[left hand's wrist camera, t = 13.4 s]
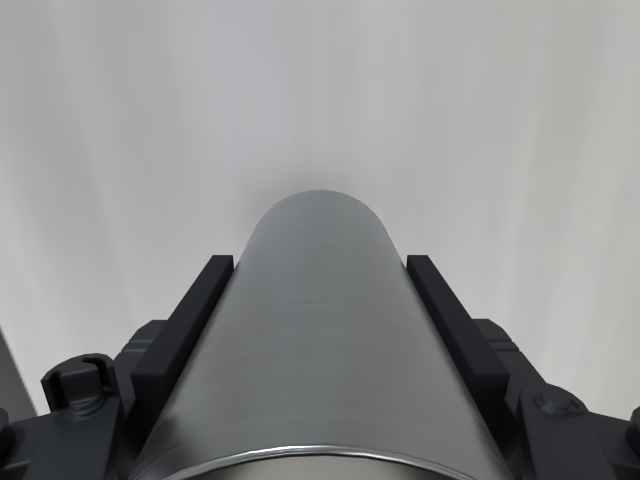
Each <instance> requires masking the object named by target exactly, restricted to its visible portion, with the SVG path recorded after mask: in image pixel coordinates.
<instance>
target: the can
mask: <svg viewBox="0 0 640 480" xmlns="http://www.w3.org/2000/svg"><path fill="white" fill-rule="evenodd" d="M127 480H514V478H513V476H512V474H511V472H510V470H509V468H508V466H507V464H506V462H505V460H504V458H503V456H502V454H501V452H500V450H499V449H498V447H497V445H496V443H495V441H494V439H493V437H492V435H491V433H490V431H489V429H488V427H487V425H486V423H485V421H484V419H483V417H482V416H481V414H480V412H479V410H478V408H477V406H476V404H475V402H474V400H473V398H472V396H471V394H470V392H469V390H468V388H467V386H466V384H465V382H464V381H463V379H462V377H461V375H460V373H459V371H458V369H457V367H456V365H455V363H454V361H453V359H452V357H451V355H450V353H449V351H448V349H447V348H446V346H445V344H444V342H443V340H442V338H441V336H440V334H439V332H438V330H437V328H436V326H435V324H434V322H433V320H432V318H431V316H430V315H429V313H428V311H427V309H426V307H425V305H424V303H423V301H422V299H421V297H420V295H419V293H418V291H417V289H416V287H415V285H414V283H413V282H412V280H411V278H410V276H409V274H408V272H407V270H406V268H405V266H404V264H403V262H402V260H401V258H400V256H399V254H398V252H397V250H396V249H395V247H394V245H393V243H392V241H391V239H390V237H389V235H388V233H387V231H386V229H385V227H384V226H383V224H382V222H381V221H380V219H379V218H378V217H377V216H376V214H375V213H374V212H373V211H372V210H371V209H370V208H369V207H367V206H366V205H365V204H363V203H362V202H360V201H359V200H357V199H355V198H353V197H351V196H349V195H346V194H343V193H339V192H335V191H328V190H311V191H306V192H301V193H298V194H294V195H292V196H290V197H287V198H285V199H283V200H282V201H280V202H279V203H277V204H275V205H274V206H273V207H272V208H271V209H270V210H268V211H267V213H266V214H265V215H264V216H263V217H262V218H261V220H260V221H259V223H258V224H257V226H256V228H255V230H254V232H253V234H252V236H251V238H250V240H249V242H248V244H247V246H246V248H245V250H244V252H243V254H242V256H241V257H240V259H239V261H238V263H237V265H236V267H235V269H234V271H233V273H232V275H231V277H230V279H229V281H228V283H227V285H226V287H225V289H224V291H223V293H222V295H221V297H220V299H219V301H218V302H217V304H216V306H215V308H214V310H213V312H212V314H211V316H210V318H209V320H208V322H207V324H206V326H205V328H204V330H203V332H202V334H201V336H200V338H199V340H198V342H197V344H196V346H195V347H194V349H193V351H192V353H191V355H190V357H189V359H188V361H187V363H186V365H185V367H184V369H183V371H182V373H181V375H180V377H179V379H178V381H177V383H176V385H175V387H174V389H173V391H172V392H171V394H170V396H169V398H168V400H167V402H166V404H165V406H164V408H163V410H162V412H161V414H160V416H159V418H158V420H157V422H156V424H155V426H154V428H153V430H152V432H151V434H150V436H149V437H148V439H147V441H146V443H145V445H144V447H143V449H142V451H141V453H140V455H139V457H138V459H137V461H136V463H135V465H134V467H133V469H132V471H131V473H130V475H129V477H128V479H127Z"/></svg>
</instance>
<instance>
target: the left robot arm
mask: <svg viewBox="0 0 640 480" xmlns="http://www.w3.org/2000/svg"><path fill="white" fill-rule="evenodd" d="M406 270H407V272H408V274H409V276H410V278H411V280H412V282H413V283H414V285H415V287H416V289H417V291H418V293H419V295H420V297H421V299H422V301H423V303H424V305H425V307H426V309H427V311H428V313H429V315H430V316H431V318H432V320H433V322H434V324H435V326H436V328H437V330H438V332H439V334H440V336H441V338H442V340H443V342H444V344H445V346H446V348H447V349H448V351H449V353H450V355H451V357H452V359H453V361H454V363H455V365H456V367H457V369H458V371H459V373H460V375H461V377H462V379H463V381H464V382H465V384H466V386H467V388H468V390H469V392H470V394H471V396H472V398H473V400H474V402H475V404H476V406H477V408H478V410H479V412H480V414H481V416H482V417H483V419H484V421H485V423H486V425H487V427H488V429H489V431H490V433H491V435H492V437H493V439H494V441H495V443H496V445H497V447H498V449H499V450H500V452H501V454H502V456H503V458H504V460H505V462H506V464H507V466H508V468H509V470H510V472H511V474H512V476H513V478H514V480H640V406H639V407H638V408H636V409H635V410H634V411H633V413H632V416H631V418H630V421H626V420H622V419H618V418H613V417H609V416H605V415H600V414H596V413H593V412H589V411H588V409H587V408H586V406H585V405H584V403H583V402H582V401H581V400H579V399H578V398H577V397H576V396H574V395H573V394H572V393H570V392H568V391H566V390H564V389H562V388H560V387H557V386H554V385H551V384H548V383H546V382H545V381H544V379H543V378H542V377H541V376H540V374H539V373H538V372H537V371H536V369H535V368H534V367H533V366H532V364H531V363H530V362H529V361H528V359H527V358H526V357H525V356H524V354H523V353H522V352H521V351H519V348H518V347H517V346H516V344H515V343H514V342H512V340H511V338H510V337H509V336H508V335H507V333H506V332H505V331H504V330H503V328H501V327H500V326H498V325H497V324H495V323H494V322H492V321H491V320H489V319H472V318H471V317H470V316H469V314H468V313H467V311H466V310H465V308H464V307H463V306H462V304H461V303H460V301H459V300H458V298H457V297H456V296H455V294H454V293H453V291H452V290H451V288H450V287H449V286H448V284H447V283H446V281H445V280H444V278H443V277H442V275H441V274H440V273H439V271H438V270H437V268H436V267H435V265H434V264H433V263H432V261H431V260H430V258H429V257H428V255H407V266H406ZM233 271H234V263H233V255H213V256H212V257H211V259H210V260H209V262H208V263H207V264H206V266H205V267H204V269H203V270H202V272H201V273H200V274H199V276H198V277H197V279H196V280H195V282H194V283H193V284H192V286H191V287H190V289H189V290H188V292H187V293H186V294H185V296H184V297H183V299H182V300H181V302H180V303H179V304H178V306H177V307H176V309H175V310H174V312H173V313H172V314H171V316H170V317H169V319H168V320H152V321H150V322H149V323H147V324H146V325H144V326H143V327H141V328H140V329H138V330H137V331H136V333H135V334H134V335H133V336H132V338H131V339H130V340H129V343H127V344H126V345H125V346H124V348H123V349H122V350H121V353H119V354H118V355H117V356H116V358H115V359H114V360H112V359H111V358H110V357H109V356H107V355H104V354H99V353H94V354H84V355H80V356H77V357H73V358H70V359H68V360H66V361H64V362H62V363H60V364H58V365H57V366H55V367H54V368H52V369H51V370H50V371H48V372H47V373H46V374H45V376H44V377H43V378H42V379H41V384H42V387H43V390H44V393H45V396H46V399H47V402H48V405H49V408H50V411H51V413H50V414H46V415H42V416H38V417H34V418H29V419H25V420H21V421H17V422H11V420H10V417H9V415H8V412H7V411H5V410H4V409H2V408H0V480H127V479H128V477H129V475H130V473H131V471H132V469H133V467H134V465H135V463H136V461H137V459H138V457H139V455H140V453H141V451H142V449H143V447H144V445H145V443H146V441H147V439H148V437H149V436H150V434H151V432H152V430H153V428H154V426H155V424H156V422H157V420H158V418H159V416H160V414H161V412H162V410H163V408H164V406H165V404H166V402H167V400H168V398H169V396H170V394H171V392H172V391H173V389H174V387H175V385H176V383H177V381H178V379H179V377H180V375H181V373H182V371H183V369H184V367H185V365H186V363H187V361H188V359H189V357H190V355H191V353H192V351H193V349H194V347H195V346H196V344H197V342H198V340H199V338H200V336H201V334H202V332H203V330H204V328H205V326H206V324H207V322H208V320H209V318H210V316H211V314H212V312H213V310H214V308H215V306H216V304H217V302H218V301H219V299H220V297H221V295H222V293H223V291H224V289H225V287H226V285H227V283H228V281H229V279H230V277H231V275H232V273H233Z"/></svg>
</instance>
